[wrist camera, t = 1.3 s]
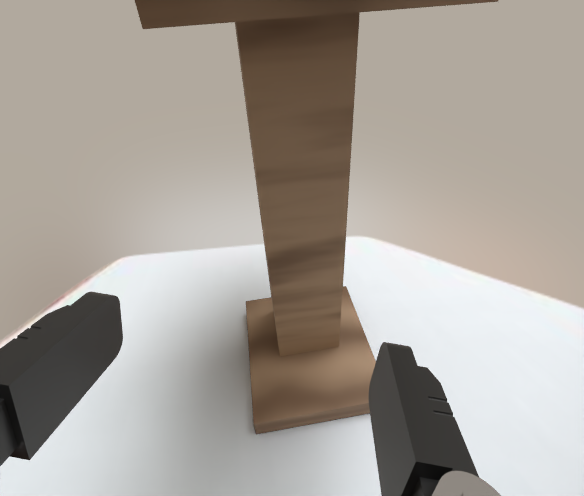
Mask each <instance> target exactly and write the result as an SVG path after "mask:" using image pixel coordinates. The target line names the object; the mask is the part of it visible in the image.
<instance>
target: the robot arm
mask: <svg viewBox="0 0 584 496" xmlns="http://www.w3.org/2000/svg"><path fill="white" fill-rule="evenodd" d="M122 341H123V334H122V322H121V311H120V301H119V299H118V297H117V296H114V295H108V294H102V293H96V292H88V293H86V294H85V295H83V296H82V297H81V298H80V299H78V300H77V301H76V302H74V303H73V304H72V305H71V306H69V305H67V306H64V307H62V308H60V309H57V310H55V311H53V312H51V313H48V314H46V315H45V316H44V317H42V318H41V319H40V320H38V321H37V322H36V323H34V324H33V325H32V326H31V328H30V329H29V328H28V329H26V330H25V331H24V332H22V333H21V334H20V335H18V337H17V339H13V340H11V341H10V342H9V343H7V344H6V345H5V346H3V347H2V348H1V349H0V466H1V465H2V464H3V463H4V462H5V460H6V459H7V458H8V457H9V456H11V457H16V458H21V459H26V460H30V459H31V458H32V457H33V456H34V454H35V453H36V452H37V451H38V450H39V448H40V447H41V446H42V445H43V444H44V442H45V441H46V440H47V439H48V438H49V436H50V435H51V434H52V433H53V432H54V431H55V429H56V428H57V427H58V426H59V425H60V423H61V422H62V421H63V420H64V419H65V417H66V416H67V415H68V414H69V413H70V411H71V410H72V409H73V408H74V407H75V406H76V404H77V403H78V402H79V401H80V400H81V398H82V397H83V396H84V395H85V394H86V392H87V391H88V390H89V389H90V388H91V386H92V385H93V384H94V383H95V382H96V381H97V379H98V378H99V377H100V376H101V375H102V373H103V372H104V371H105V370H106V369H107V367H108V366H109V365H110V364H111V363H112V362H113V360H114V359H115V358H116V356H117V355H118V353H119V351H120V348H121V345H122ZM369 409H370V416H371V423H372V430H373V437H374V444H375V451H376V458H377V465H378V472H379V480H380V487H381V494H382V496H501V495H500V494H499V493H498V492H497V491H496V490H495V489H494V488H493V487H492V486H490V485H489V484H488V483H487V482H485V481H484V480H482V479H481V478H479V476H478V474H477V471H476V469H475V466H474V464H473V461H472V459H471V456H470V454H469V452H468V449H467V447H466V444H465V442H464V439H463V437H462V435H461V432H460V430H459V427H458V425H457V422H456V420H455V417H453V413H452V410H451V408H450V405H449V403H447V398H446V396H445V393H444V391H443V388H442V386H441V383H440V382H439V381H438V380H437V379H436V377H435V376H434V375H433V374H432V373H431V372H430V370H429V369H428V368H425V367H420V366H417V363H416V360H415V357H414V355H413V352H412V349H411V348H410V347H409V346H404V345H398V344H392V343H386V342H383V343H382V345H381V347H380V350H379V354H378V357H377V360H376V364H375V367H374V370H373V374H372V377H371V380H370V385H369Z"/></svg>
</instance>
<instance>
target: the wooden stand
mask: <svg viewBox="0 0 584 496" xmlns="http://www.w3.org/2000/svg"><path fill="white" fill-rule="evenodd" d="M497 1H498V0H135V3H136V6H137V10H138V13H139V17H140V21H141V24H142V28H143V29H150V28H162V27H176V26H188V25H202V24H215V23H228V22H235V26H236V34H237V42H238V49H239V56H240V64H241V72H242V79H243V87H244V94H245V102H246V109H247V117H248V123H249V132H250V139H251V147H252V154H253V162H254V169H255V177H256V184H257V192H258V199H259V207H260V215H261V222H262V229H263V237H264V245H265V252H266V260H267V267H268V275H269V282H270V290H271V298H265V299H258V300H252V301H246V311H247V327H248V343H249V359H250V375H251V390H252V406H253V422H254V427H255V431H256V434H260V433H266V432H271V431H277V430H282V429H287V428H293V427H298V426H303V425H309V424H314V423H320V422H325V421H330V420H336V419H341V418H346V417H352V416H357V415H362V414H368V413H370V409H369V385H370V380H371V377H372V374H373V370H374V367H375V364H376V361H375V359H374V356H373V354H372V351H371V348H370V346H369V343H368V341H367V338H366V336H365V333H364V331H363V328H362V326H361V323H360V321H359V318H358V316H357V313H356V311H355V308H354V305H353V303H352V300H351V298H350V295H349V293H348V290H347V288H346V286H344V287H343V274H344V257H345V241H346V225H347V208H348V191H349V176H350V158H351V143H352V127H353V109H354V94H355V78H356V77H355V76H356V61H357V45H358V29H359V12H369V11H382V10H395V9H407V8H420V7H433V6H446V5H459V4H472V3H483V2H497Z"/></svg>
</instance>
